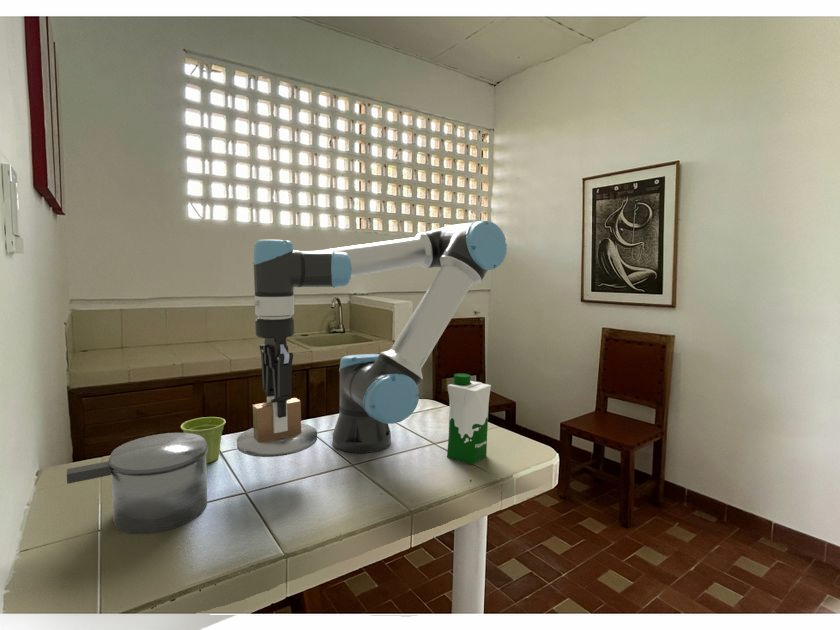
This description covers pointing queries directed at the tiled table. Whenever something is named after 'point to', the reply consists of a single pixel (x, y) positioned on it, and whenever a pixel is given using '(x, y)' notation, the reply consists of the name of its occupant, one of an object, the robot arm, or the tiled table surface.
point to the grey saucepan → (154, 481)
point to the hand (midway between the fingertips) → (277, 428)
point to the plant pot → (207, 433)
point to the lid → (276, 444)
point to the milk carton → (468, 419)
